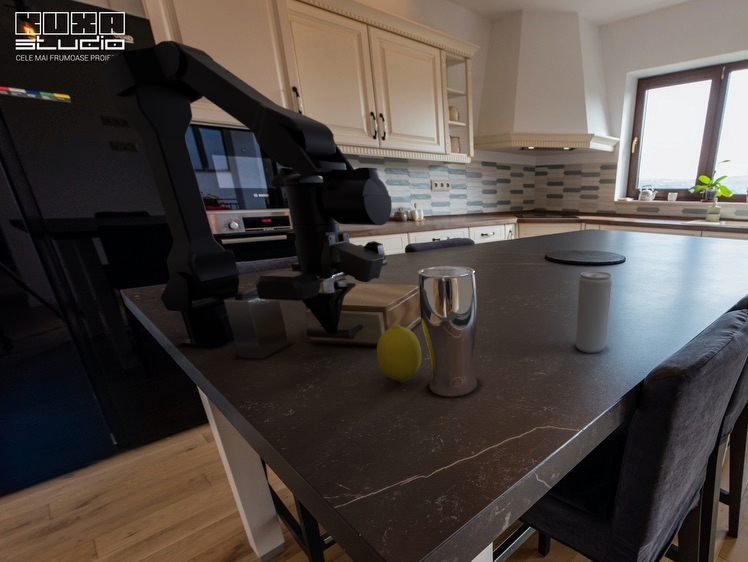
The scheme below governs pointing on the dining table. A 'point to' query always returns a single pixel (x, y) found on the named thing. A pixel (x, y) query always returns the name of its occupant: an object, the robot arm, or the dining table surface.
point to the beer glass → (449, 326)
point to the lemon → (399, 353)
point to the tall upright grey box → (256, 324)
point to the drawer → (349, 327)
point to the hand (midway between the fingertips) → (332, 333)
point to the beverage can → (593, 311)
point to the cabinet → (383, 305)
